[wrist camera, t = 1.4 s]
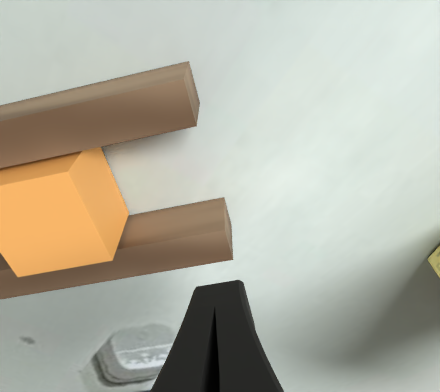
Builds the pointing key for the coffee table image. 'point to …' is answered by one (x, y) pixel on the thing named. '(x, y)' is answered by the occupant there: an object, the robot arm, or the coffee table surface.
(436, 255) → the candy box
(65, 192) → the block
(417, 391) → the coffee table surface
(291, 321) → the coffee table surface
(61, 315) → the coffee table surface
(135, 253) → the walnut chute
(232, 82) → the coffee table surface
